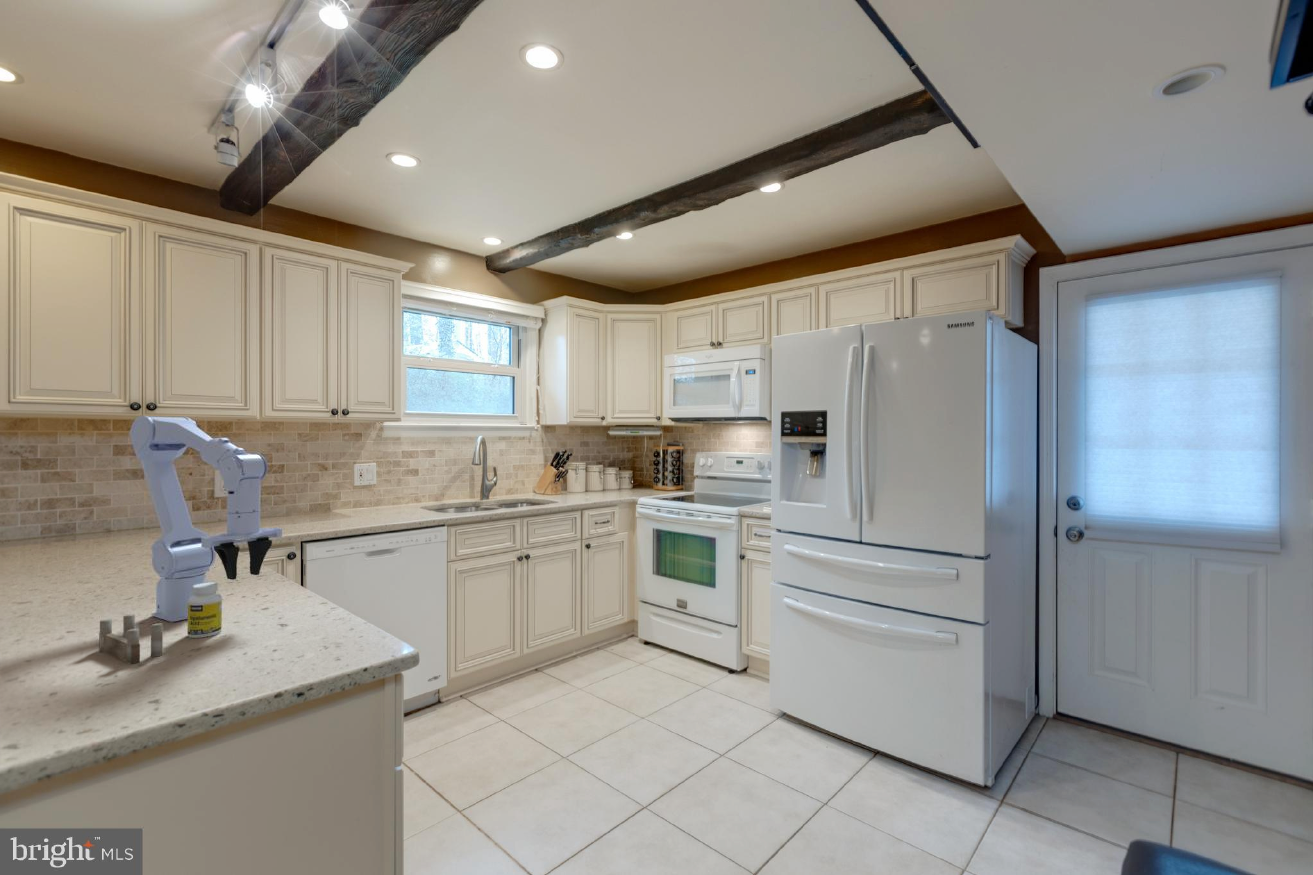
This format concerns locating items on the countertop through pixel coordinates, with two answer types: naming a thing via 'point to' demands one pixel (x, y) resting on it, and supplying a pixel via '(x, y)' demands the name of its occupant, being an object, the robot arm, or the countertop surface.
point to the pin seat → (128, 640)
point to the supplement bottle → (204, 611)
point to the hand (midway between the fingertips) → (243, 576)
